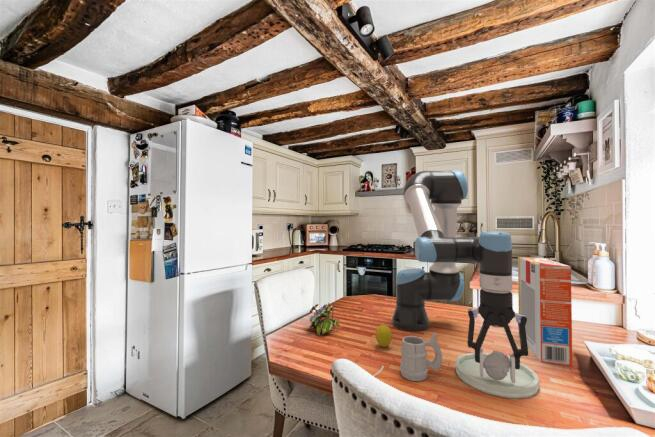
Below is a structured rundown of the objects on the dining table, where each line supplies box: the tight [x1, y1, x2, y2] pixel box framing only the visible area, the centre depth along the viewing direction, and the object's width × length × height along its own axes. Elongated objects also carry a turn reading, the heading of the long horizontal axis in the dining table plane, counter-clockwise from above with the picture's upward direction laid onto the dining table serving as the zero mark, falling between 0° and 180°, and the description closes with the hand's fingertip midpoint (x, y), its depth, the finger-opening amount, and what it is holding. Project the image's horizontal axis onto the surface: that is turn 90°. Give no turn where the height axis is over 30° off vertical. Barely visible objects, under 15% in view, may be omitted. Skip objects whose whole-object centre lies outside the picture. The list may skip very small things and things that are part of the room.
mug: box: [399, 332, 443, 382], centre depth 84 cm, size 8×12×12 cm, turn 87°
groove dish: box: [455, 352, 540, 400], centre depth 83 cm, size 20×20×2 cm
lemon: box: [375, 323, 393, 349], centre depth 103 cm, size 6×6×8 cm
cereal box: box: [517, 256, 573, 367], centre depth 102 cm, size 23×8×30 cm, turn 161°
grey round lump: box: [483, 350, 511, 380], centre depth 78 cm, size 6×7×7 cm
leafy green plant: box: [309, 302, 340, 337], centre depth 119 cm, size 13×12×14 cm
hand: (496, 377), depth 78 cm, fingers closed on grey round lump, 6 cm apart
